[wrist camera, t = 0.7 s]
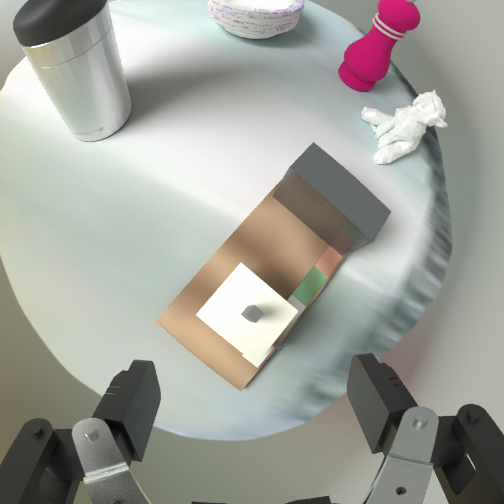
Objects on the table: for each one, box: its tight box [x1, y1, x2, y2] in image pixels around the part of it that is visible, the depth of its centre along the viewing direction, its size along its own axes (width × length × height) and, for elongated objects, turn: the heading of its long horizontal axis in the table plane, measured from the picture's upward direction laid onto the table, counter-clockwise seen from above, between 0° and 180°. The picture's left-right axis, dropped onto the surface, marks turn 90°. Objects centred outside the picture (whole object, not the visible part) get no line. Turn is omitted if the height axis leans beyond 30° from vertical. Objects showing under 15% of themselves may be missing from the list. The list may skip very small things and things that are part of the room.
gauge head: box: [196, 263, 298, 363], centre depth 23 cm, size 5×8×11 cm, turn 50°
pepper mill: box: [338, 0, 420, 92], centre depth 30 cm, size 7×7×20 cm
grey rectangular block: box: [272, 142, 391, 255], centre depth 29 cm, size 4×10×7 cm, turn 51°
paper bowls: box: [208, 0, 304, 39], centre depth 36 cm, size 15×15×8 cm
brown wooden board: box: [156, 180, 348, 391], centre depth 31 cm, size 22×11×1 cm, turn 140°
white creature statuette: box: [361, 90, 448, 164], centre depth 33 cm, size 10×9×12 cm
